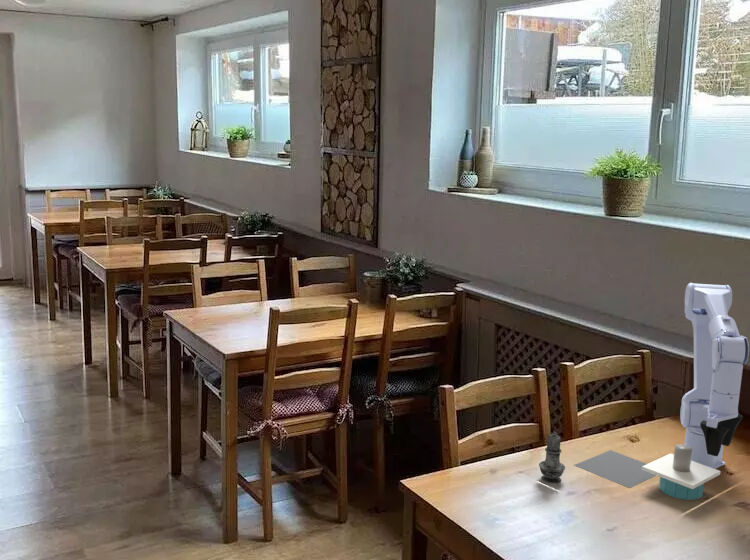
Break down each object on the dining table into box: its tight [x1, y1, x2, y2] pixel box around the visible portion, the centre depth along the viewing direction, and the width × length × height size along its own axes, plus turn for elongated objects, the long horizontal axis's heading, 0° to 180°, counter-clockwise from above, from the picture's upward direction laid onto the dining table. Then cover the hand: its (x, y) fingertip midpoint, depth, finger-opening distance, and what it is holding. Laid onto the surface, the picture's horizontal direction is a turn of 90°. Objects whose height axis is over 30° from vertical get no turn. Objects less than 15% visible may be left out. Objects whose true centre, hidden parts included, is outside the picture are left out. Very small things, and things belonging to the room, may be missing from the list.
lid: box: [642, 443, 722, 489], centre depth 176 cm, size 12×12×6 cm
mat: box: [573, 449, 657, 489], centre depth 188 cm, size 15×15×1 cm
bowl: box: [658, 477, 705, 501], centre depth 177 cm, size 9×9×4 cm
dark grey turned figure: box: [538, 430, 566, 486], centre depth 180 cm, size 6×6×12 cm
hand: (718, 449), depth 175 cm, fingers open, 7 cm apart
